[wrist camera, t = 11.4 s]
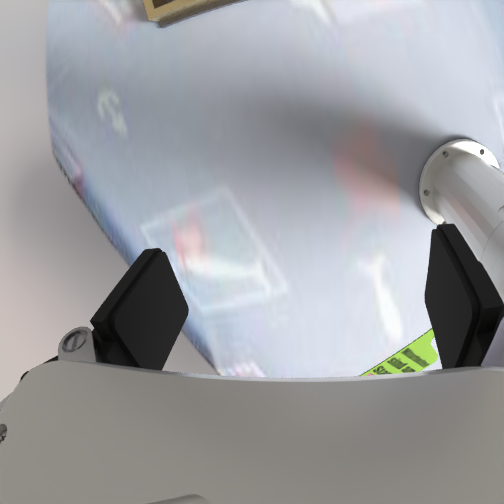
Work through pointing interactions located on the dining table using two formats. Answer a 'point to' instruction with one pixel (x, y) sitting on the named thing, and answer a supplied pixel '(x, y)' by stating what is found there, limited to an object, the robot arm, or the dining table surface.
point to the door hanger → (408, 358)
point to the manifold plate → (181, 9)
